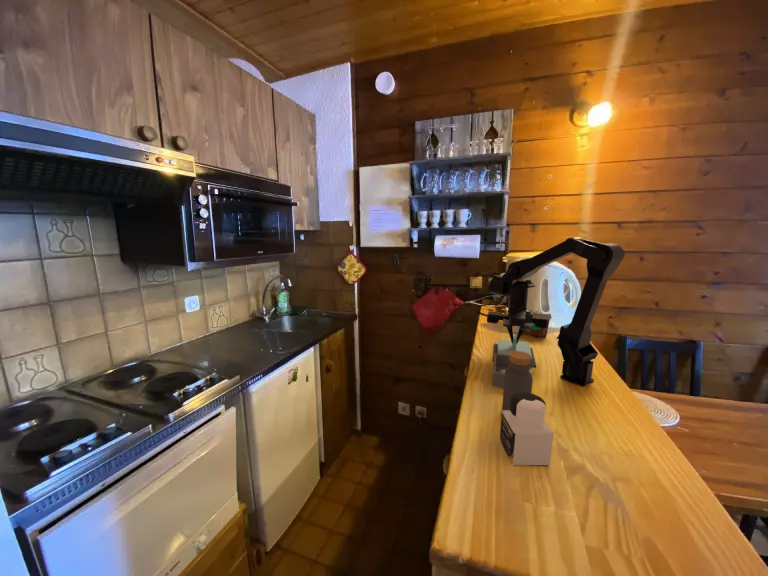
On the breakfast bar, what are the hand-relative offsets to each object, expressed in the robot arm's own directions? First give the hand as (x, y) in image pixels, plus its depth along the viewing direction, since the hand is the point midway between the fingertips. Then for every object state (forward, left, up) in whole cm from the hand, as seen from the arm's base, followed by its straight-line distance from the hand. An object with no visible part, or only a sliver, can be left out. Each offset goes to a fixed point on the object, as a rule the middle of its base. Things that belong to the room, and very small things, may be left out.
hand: (514, 343), depth 107 cm
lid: (0, 0, -3) cm, 3 cm away
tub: (-10, +15, -4) cm, 19 cm away
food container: (+9, -24, -4) cm, 26 cm away
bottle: (-22, +30, -4) cm, 37 cm away
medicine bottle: (-31, +40, -4) cm, 51 cm away
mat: (0, 0, -4) cm, 4 cm away
